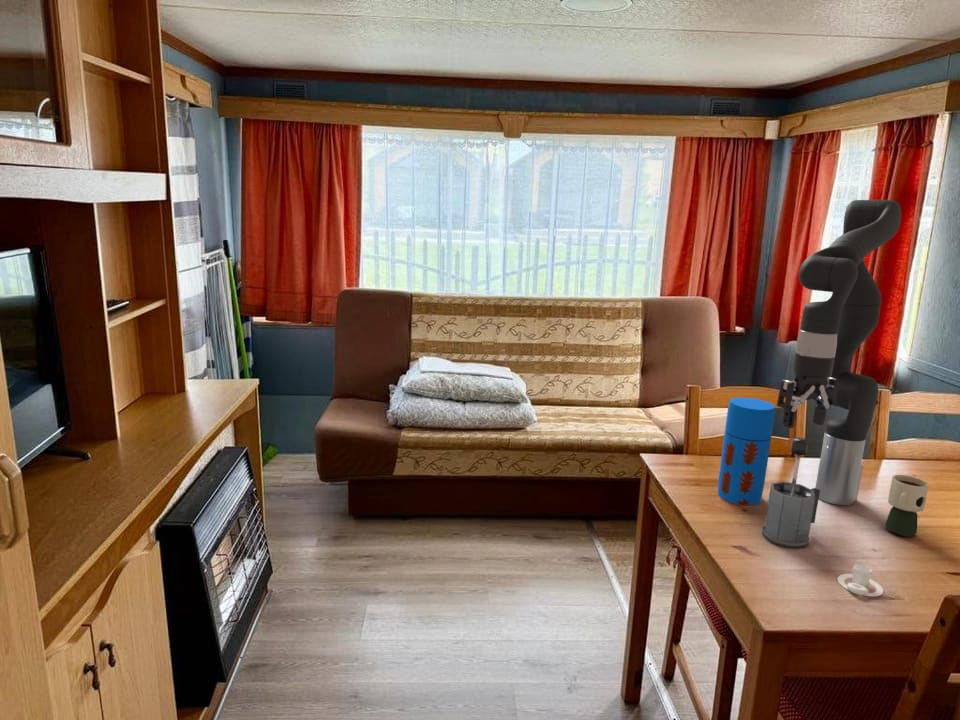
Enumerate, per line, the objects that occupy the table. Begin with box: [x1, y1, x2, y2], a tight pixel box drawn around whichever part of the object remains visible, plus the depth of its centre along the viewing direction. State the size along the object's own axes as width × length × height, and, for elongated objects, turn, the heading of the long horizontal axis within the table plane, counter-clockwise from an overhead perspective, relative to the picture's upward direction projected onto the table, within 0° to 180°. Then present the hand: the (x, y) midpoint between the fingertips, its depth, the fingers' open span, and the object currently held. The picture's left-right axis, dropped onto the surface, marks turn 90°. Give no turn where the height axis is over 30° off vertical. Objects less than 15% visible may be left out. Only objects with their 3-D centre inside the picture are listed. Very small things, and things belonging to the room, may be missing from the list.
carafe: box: [761, 481, 820, 550], centre depth 148 cm, size 12×10×12 cm
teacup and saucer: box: [837, 563, 884, 597], centre depth 130 cm, size 9×8×4 cm
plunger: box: [780, 437, 809, 498], centre depth 145 cm, size 7×7×14 cm
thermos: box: [717, 397, 776, 507], centre depth 167 cm, size 11×11×25 cm
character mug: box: [884, 474, 930, 538], centre depth 152 cm, size 11×7×13 cm, turn 136°
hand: (803, 425), depth 142 cm, fingers open, 8 cm apart
